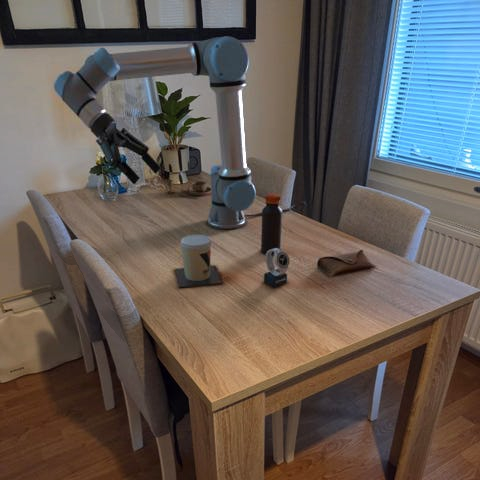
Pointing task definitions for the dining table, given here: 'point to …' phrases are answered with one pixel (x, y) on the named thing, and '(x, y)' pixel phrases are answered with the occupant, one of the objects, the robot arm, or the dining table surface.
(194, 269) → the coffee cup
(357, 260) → the sunglasses case
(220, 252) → the dining table surface
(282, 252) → the watch
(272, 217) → the bottle
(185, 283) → the coaster
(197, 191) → the place setting
